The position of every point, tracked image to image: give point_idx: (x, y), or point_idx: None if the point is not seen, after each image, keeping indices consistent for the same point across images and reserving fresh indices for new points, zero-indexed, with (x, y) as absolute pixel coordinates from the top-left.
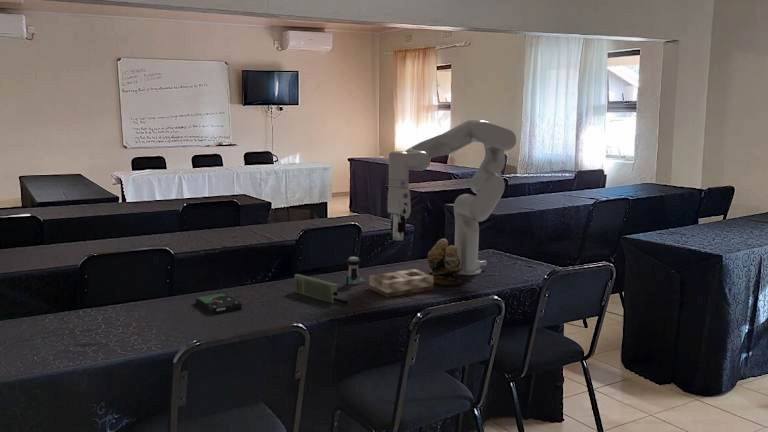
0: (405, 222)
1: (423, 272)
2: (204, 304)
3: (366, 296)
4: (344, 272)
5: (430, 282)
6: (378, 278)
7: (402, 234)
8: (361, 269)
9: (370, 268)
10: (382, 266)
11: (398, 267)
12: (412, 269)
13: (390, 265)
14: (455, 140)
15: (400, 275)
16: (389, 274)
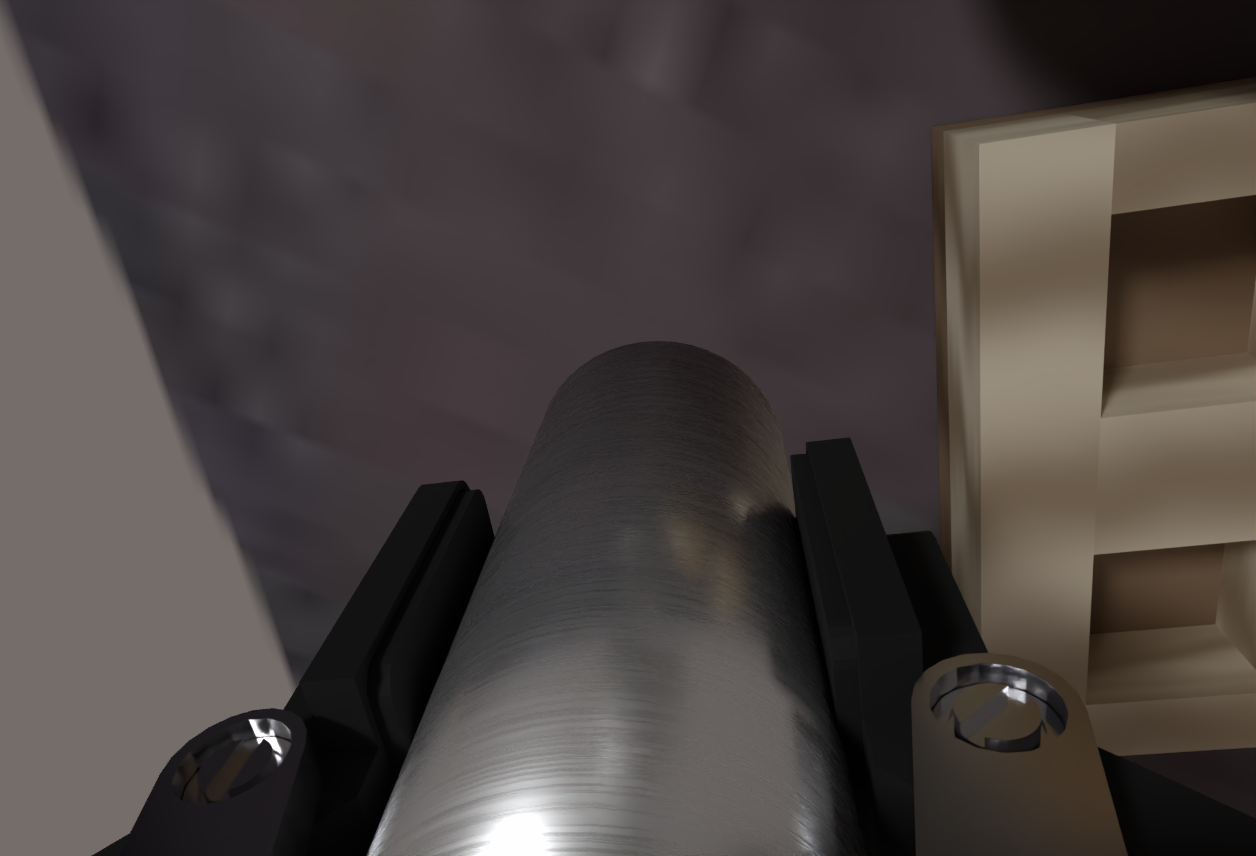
0: (909, 610)
1: (1232, 112)
2: None
3: (1150, 769)
4: (300, 650)
5: None
6: (1147, 737)
7: (779, 458)
8: (208, 469)
9: (177, 365)
10: (96, 192)
11: (171, 3)
12: (982, 192)
13: (51, 67)
14: None
15: (1179, 483)
16: (1059, 576)
